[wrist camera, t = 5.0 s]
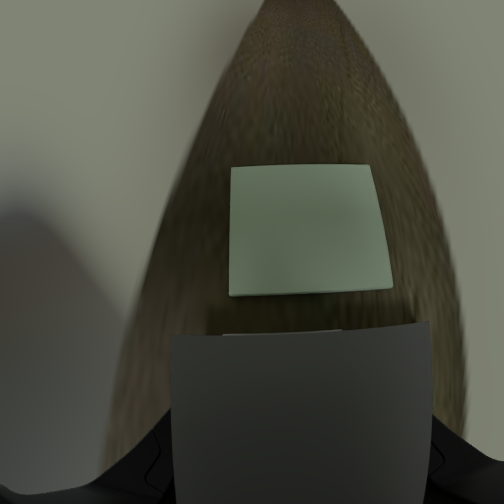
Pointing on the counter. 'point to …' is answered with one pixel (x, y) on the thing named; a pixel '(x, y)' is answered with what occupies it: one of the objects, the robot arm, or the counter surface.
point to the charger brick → (302, 417)
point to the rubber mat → (305, 230)
